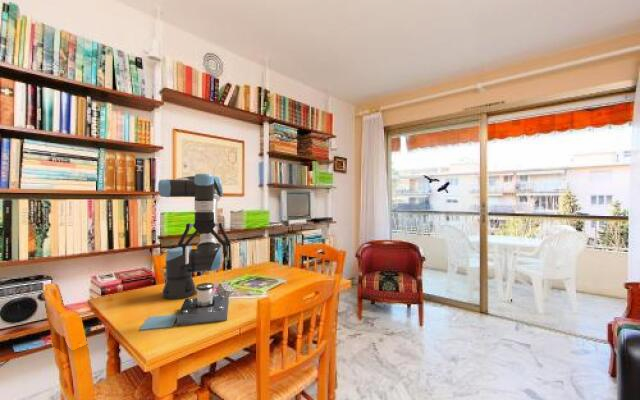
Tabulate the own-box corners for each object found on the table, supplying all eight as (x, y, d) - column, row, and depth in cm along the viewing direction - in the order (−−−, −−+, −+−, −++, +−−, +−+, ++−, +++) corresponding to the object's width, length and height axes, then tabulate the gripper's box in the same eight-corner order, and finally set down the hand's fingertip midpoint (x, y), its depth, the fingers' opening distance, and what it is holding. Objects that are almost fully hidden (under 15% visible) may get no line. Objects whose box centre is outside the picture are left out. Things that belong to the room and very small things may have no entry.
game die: (222, 307, 138) (210, 294, 133) (220, 295, 145) (209, 282, 140) (239, 297, 139) (228, 283, 134) (237, 286, 146) (226, 272, 141)
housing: (185, 308, 128) (185, 297, 127) (228, 303, 132) (228, 293, 132) (177, 325, 110) (177, 313, 110) (227, 320, 115) (226, 308, 115)
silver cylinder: (197, 311, 124) (197, 283, 123) (214, 309, 125) (214, 282, 125) (195, 318, 117) (195, 288, 117) (213, 316, 119) (212, 287, 119)
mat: (148, 318, 117) (148, 317, 117) (178, 315, 120) (178, 314, 120) (139, 330, 106) (139, 329, 106) (172, 327, 109) (172, 325, 109)
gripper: (169, 212, 113) (169, 266, 114) (235, 211, 120) (236, 262, 120) (173, 211, 121) (173, 262, 121) (235, 210, 127) (236, 258, 128)
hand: (204, 262), depth 121 cm, fingers open, 13 cm apart
